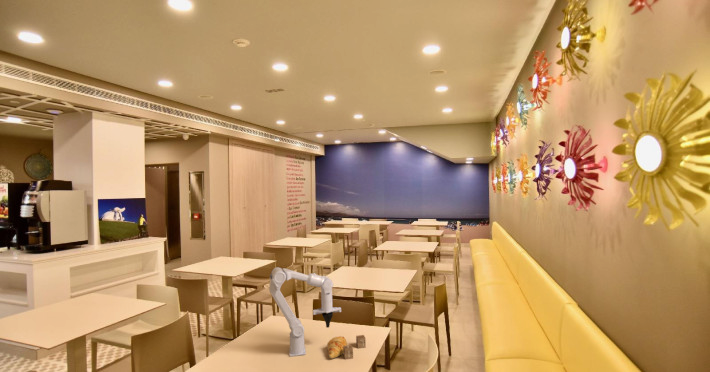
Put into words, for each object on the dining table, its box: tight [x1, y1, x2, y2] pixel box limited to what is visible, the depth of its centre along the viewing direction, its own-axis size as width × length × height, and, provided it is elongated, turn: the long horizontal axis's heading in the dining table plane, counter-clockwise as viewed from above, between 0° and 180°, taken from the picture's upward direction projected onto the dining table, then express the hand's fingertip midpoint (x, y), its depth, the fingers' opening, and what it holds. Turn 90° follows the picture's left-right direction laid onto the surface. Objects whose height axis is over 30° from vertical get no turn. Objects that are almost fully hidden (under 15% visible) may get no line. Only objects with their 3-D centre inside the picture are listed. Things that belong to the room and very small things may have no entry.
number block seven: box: [355, 334, 366, 349], centre depth 190 cm, size 4×4×5 cm
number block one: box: [343, 344, 354, 361], centre depth 178 cm, size 4×4×5 cm
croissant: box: [326, 335, 348, 360], centre depth 186 cm, size 21×10×8 cm, turn 167°
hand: (327, 326), depth 191 cm, fingers closed
